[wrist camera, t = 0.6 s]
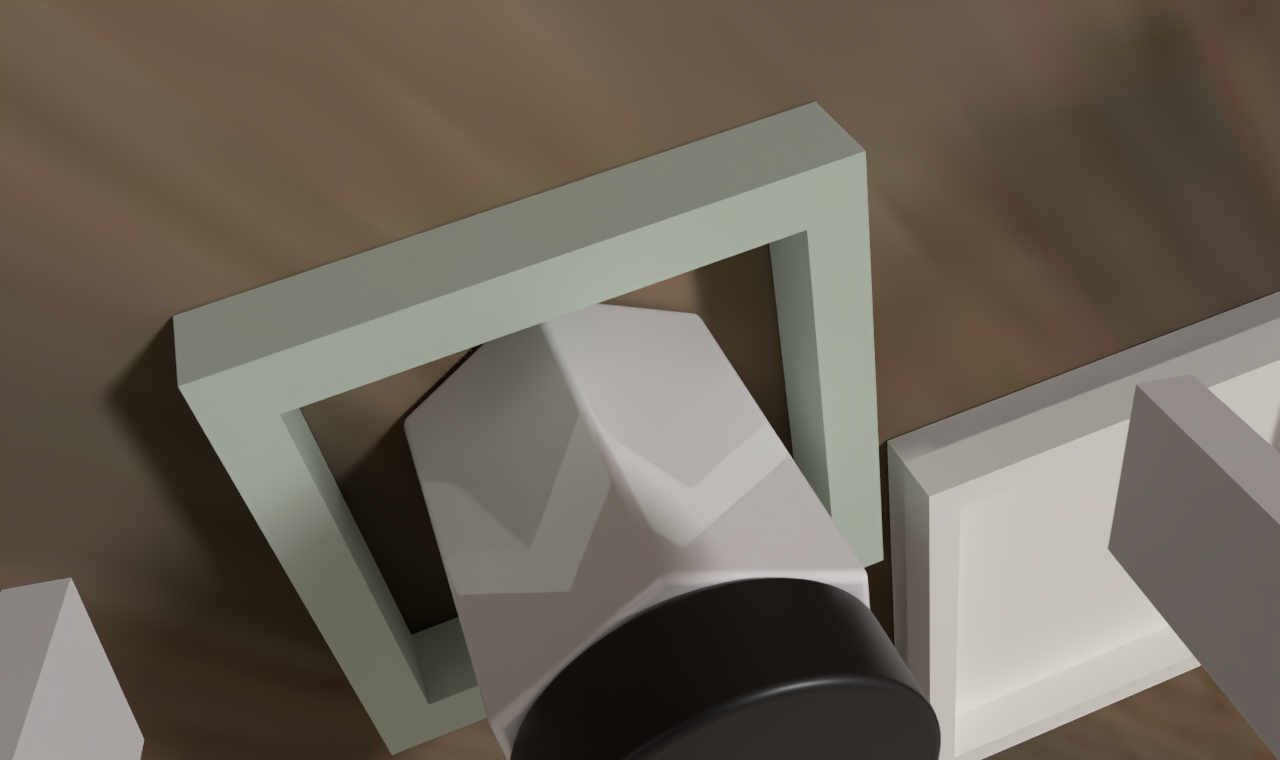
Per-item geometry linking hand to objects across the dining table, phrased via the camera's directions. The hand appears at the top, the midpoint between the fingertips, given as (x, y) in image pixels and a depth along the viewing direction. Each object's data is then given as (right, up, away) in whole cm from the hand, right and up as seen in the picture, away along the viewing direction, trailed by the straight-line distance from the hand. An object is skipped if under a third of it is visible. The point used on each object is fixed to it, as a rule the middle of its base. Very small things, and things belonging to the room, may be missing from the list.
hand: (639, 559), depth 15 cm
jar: (-2, +1, +16) cm, 17 cm away
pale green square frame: (-2, +1, +16) cm, 16 cm away
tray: (+16, -3, +27) cm, 32 cm away
